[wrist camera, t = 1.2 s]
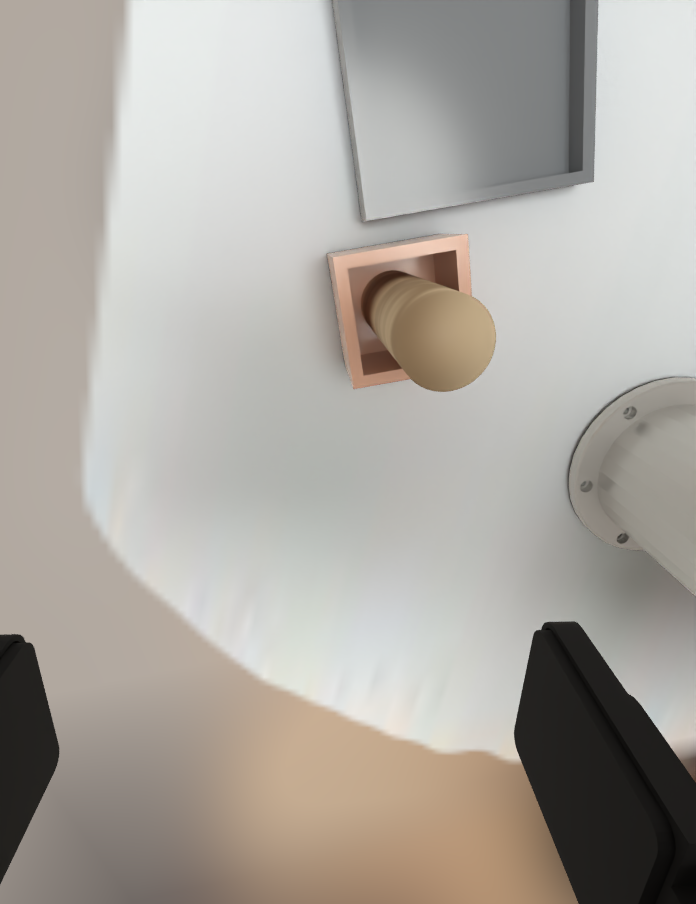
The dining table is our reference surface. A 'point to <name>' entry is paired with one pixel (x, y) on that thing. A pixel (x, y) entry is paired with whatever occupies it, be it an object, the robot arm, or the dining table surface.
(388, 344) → the oak dowel
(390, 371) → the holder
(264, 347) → the dining table surface
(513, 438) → the dining table surface
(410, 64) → the tray
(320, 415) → the dining table surface
